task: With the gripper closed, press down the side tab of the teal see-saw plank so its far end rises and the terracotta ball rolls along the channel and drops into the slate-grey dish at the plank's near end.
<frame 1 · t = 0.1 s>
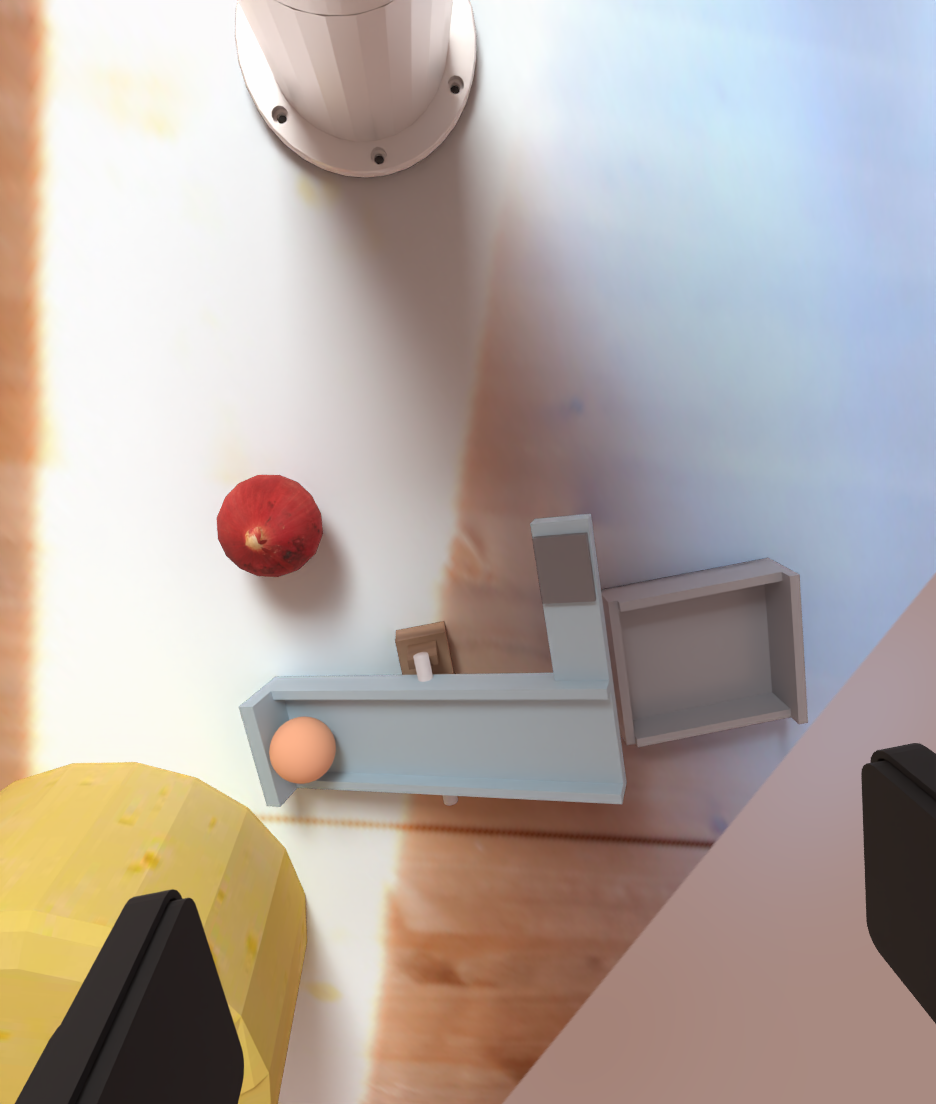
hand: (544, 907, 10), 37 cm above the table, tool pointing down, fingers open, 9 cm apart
lever: (415, 686, 42), point 6 cm above the table, hinge at 23.1°, touching ball
cheese: (124, 921, 52), on the table
dish: (690, 644, 49), on the table
ball: (324, 733, 46), point 3 cm above the table, tilted 36°, touching lever
onion: (282, 512, 45), on the table
fulcrum: (434, 694, 49), on the table
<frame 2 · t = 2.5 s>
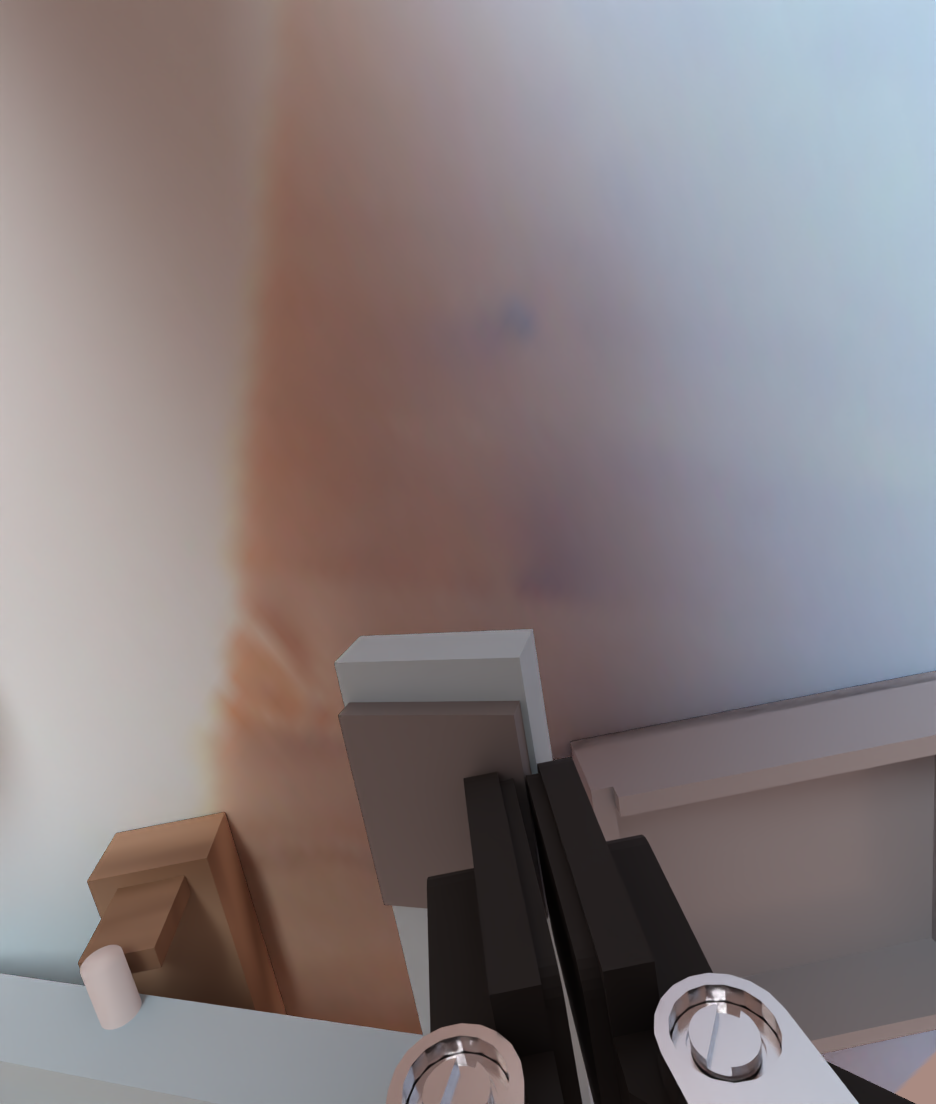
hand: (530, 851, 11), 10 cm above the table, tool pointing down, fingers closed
lever: (67, 1065, 15), point 6 cm above the table, hinge at 20.9°, touching ball, gripper
dish: (767, 846, 23), on the table
fulcrum: (215, 957, 23), on the table
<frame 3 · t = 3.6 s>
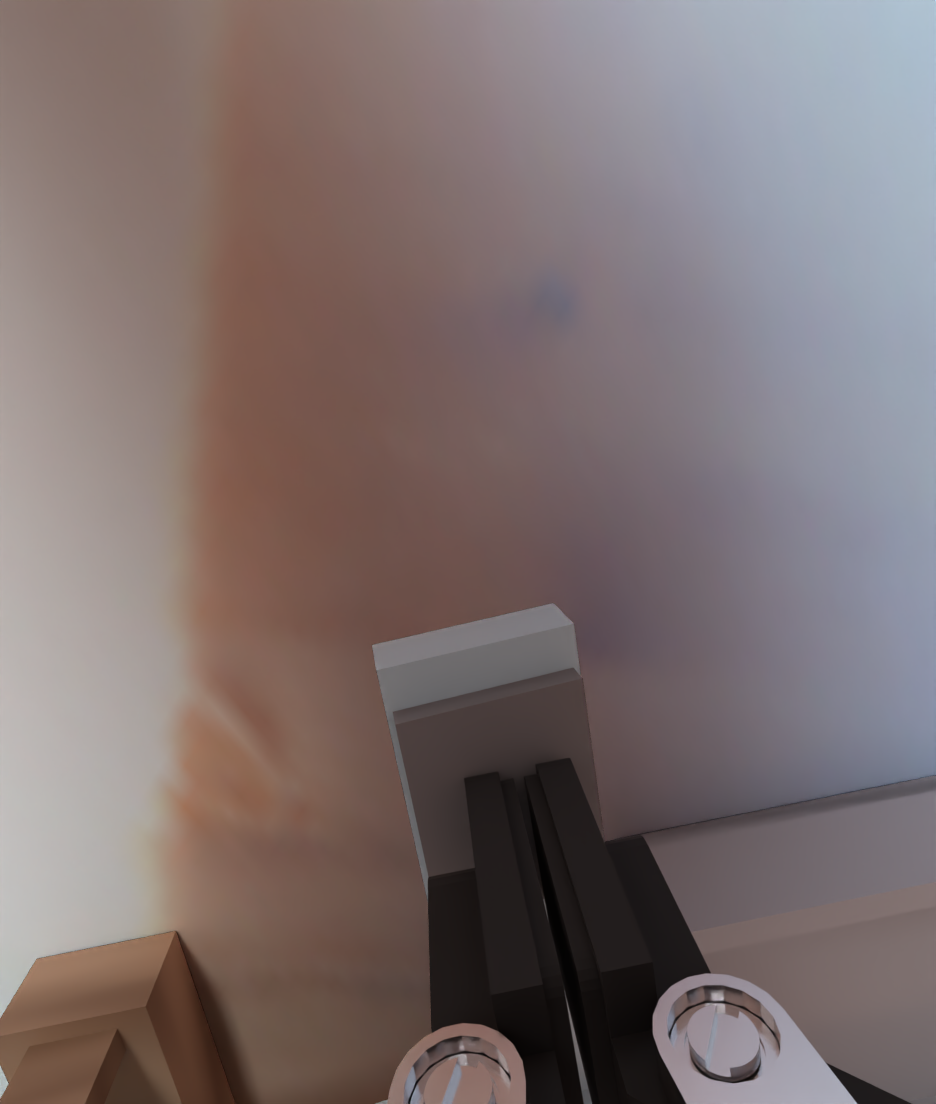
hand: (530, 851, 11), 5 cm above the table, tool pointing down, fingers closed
dish: (856, 961, 19), on the table
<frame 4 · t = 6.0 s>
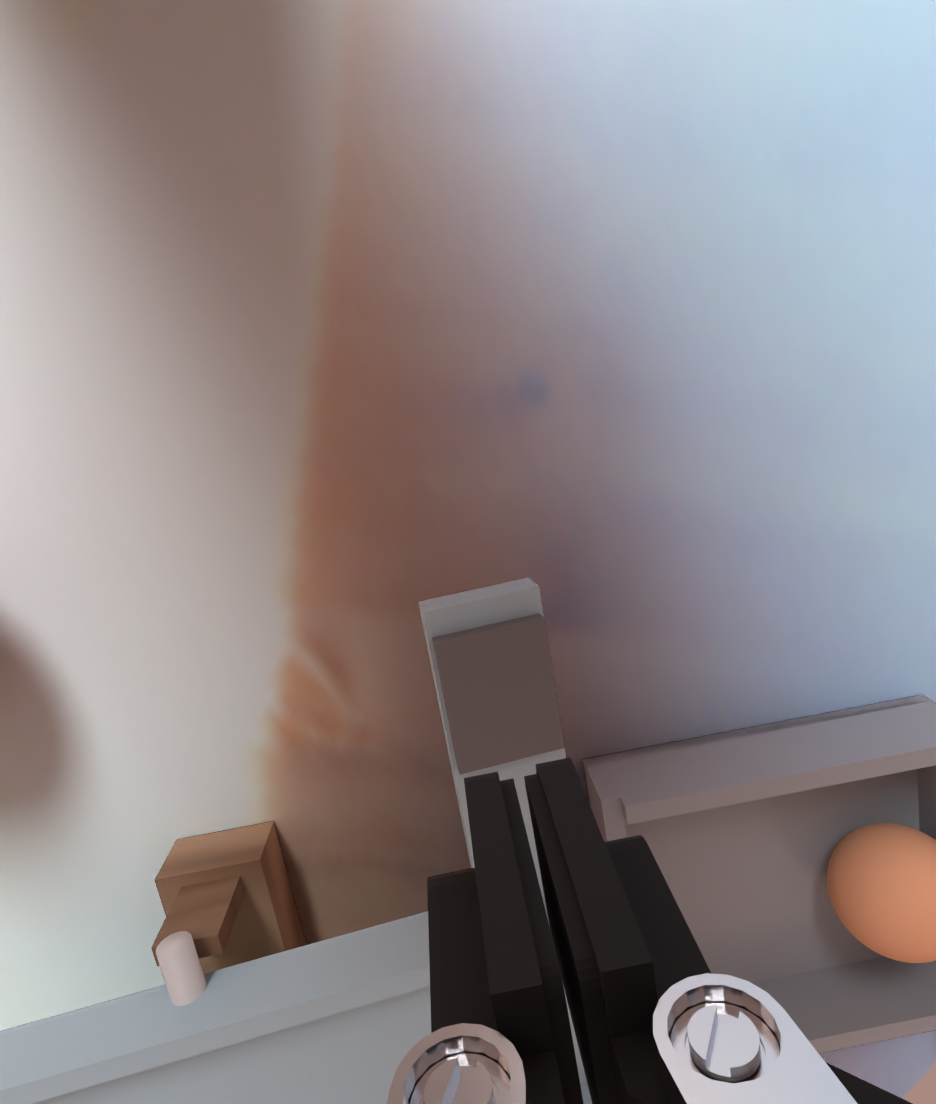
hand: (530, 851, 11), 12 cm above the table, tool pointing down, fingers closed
lever: (174, 1031, 18), point 6 cm above the table, hinge at -6.9°
dish: (765, 858, 25), on the table
ball: (860, 922, 22), point 3 cm above the table, tilted 118°, touching dish
fulcrum: (261, 957, 25), on the table
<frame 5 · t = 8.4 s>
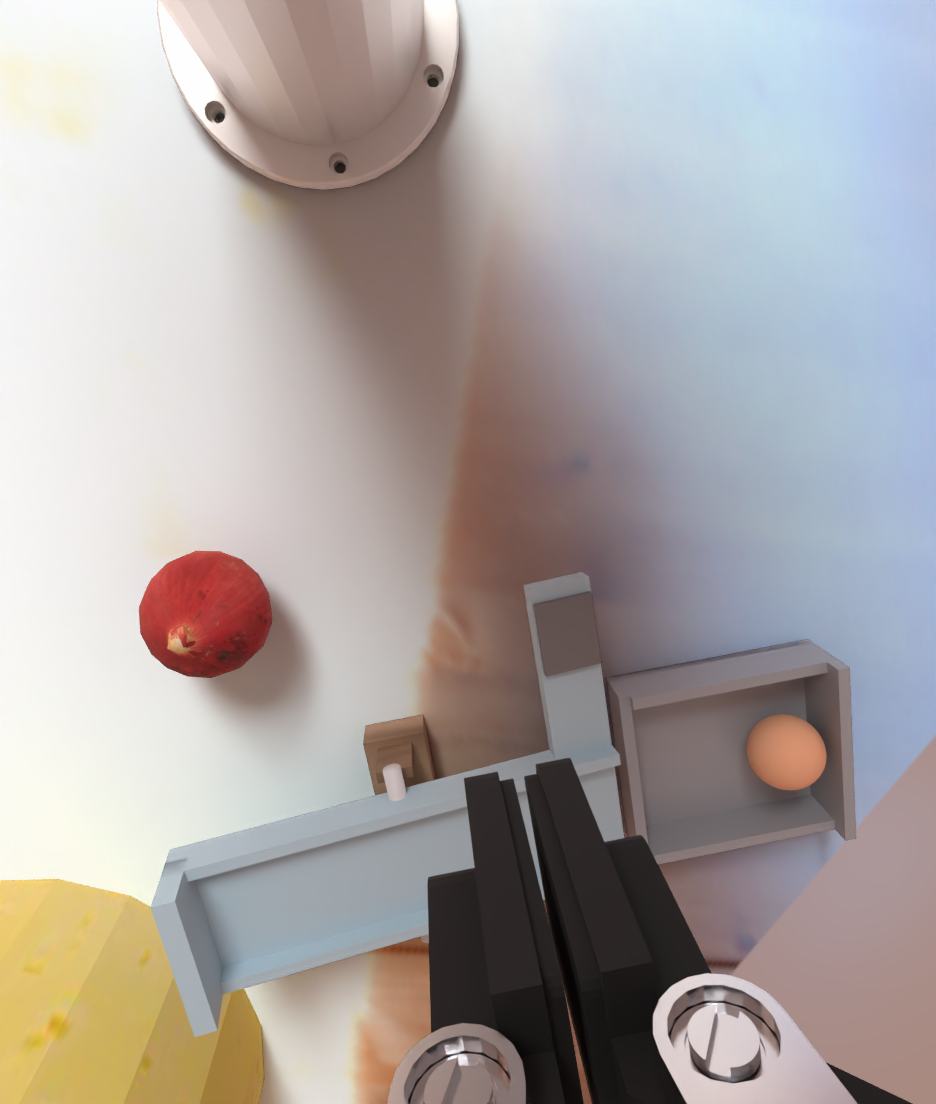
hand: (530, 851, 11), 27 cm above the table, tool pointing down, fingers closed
lever: (399, 808, 34), point 6 cm above the table, hinge at -6.9°
cheese: (48, 1057, 44), on the table
dish: (715, 739, 42), on the table
ball: (759, 765, 39), point 3 cm above the table, tilted 113°, touching dish
onion: (228, 589, 38), on the table
fulcrum: (411, 798, 41), on the table
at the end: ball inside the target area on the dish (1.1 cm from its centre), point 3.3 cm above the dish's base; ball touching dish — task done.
